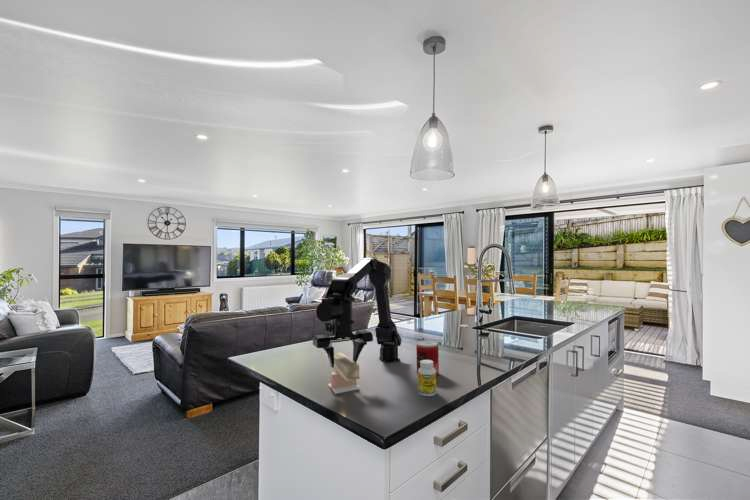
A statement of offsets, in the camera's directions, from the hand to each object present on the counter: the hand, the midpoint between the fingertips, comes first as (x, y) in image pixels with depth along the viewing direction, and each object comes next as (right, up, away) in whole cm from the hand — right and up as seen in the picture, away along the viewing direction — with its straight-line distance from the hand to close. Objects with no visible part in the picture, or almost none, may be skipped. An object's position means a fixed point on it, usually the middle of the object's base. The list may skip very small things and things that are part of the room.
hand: (343, 365), depth 108 cm
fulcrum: (0, -7, 0) cm, 7 cm away
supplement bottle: (+26, -7, -5) cm, 27 cm away
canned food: (+29, -7, +12) cm, 32 cm away
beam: (0, -2, 0) cm, 2 cm away
